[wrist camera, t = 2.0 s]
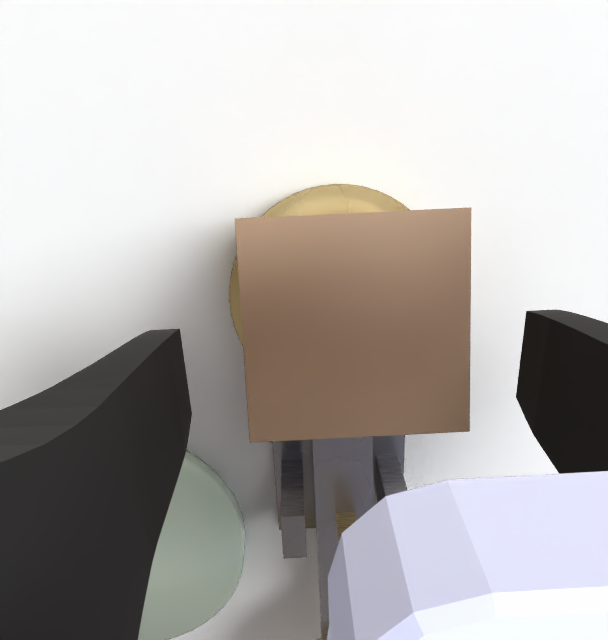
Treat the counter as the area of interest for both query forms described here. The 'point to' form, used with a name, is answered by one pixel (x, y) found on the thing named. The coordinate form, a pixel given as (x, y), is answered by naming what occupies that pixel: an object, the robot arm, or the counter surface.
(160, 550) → the dish
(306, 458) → the balance stand
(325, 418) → the walnut block
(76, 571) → the robot arm
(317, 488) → the balance beam
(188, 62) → the counter surface
